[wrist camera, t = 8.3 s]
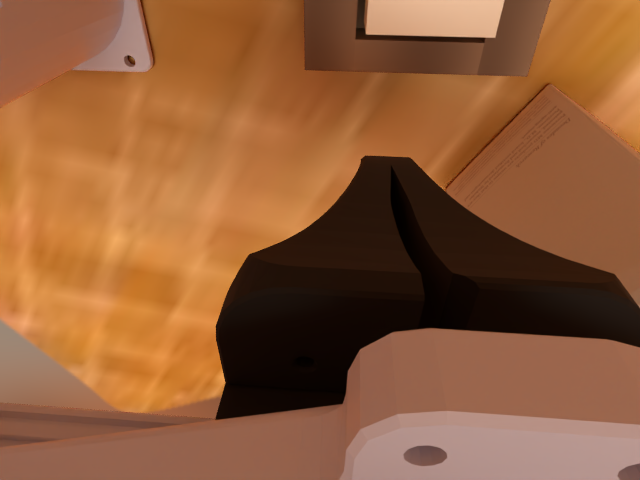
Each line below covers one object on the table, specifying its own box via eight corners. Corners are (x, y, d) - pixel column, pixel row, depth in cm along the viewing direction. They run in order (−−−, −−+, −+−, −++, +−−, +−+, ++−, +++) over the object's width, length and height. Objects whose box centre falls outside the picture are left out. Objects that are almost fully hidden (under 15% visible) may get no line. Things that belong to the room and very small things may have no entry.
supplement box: (440, 189, 24) (506, 387, 14) (550, 77, 20) (757, 243, 10) (529, 248, 26) (642, 455, 16) (644, 158, 22) (893, 361, 12)
